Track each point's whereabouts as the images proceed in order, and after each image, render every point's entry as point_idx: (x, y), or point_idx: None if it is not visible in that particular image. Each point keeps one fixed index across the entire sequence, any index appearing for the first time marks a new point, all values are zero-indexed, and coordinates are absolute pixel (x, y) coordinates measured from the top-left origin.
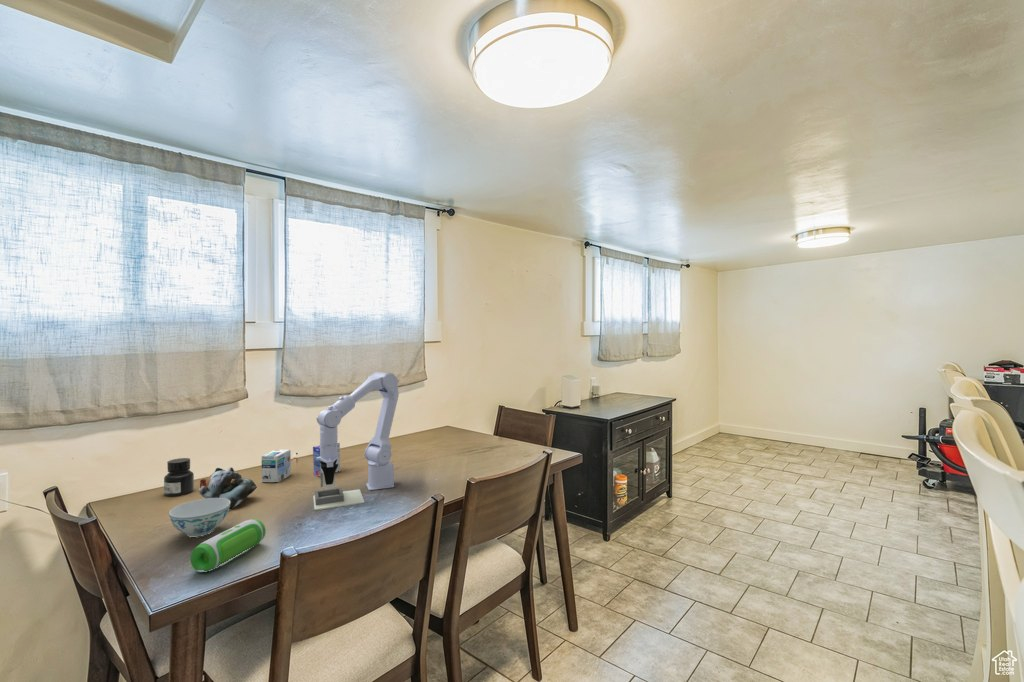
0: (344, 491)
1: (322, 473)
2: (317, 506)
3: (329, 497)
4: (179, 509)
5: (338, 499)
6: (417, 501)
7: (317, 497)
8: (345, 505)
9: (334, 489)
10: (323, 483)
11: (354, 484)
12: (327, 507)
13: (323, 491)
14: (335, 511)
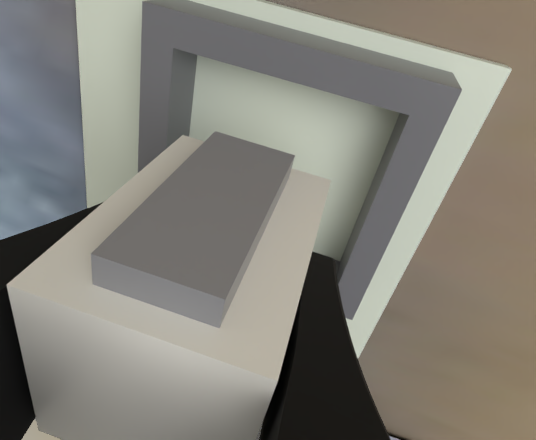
0: (379, 314)
1: (101, 271)
2: (134, 3)
3: (141, 144)
4: None
5: None
6: (35, 418)
7: (201, 42)
8: (89, 199)
9: (348, 263)
10: (142, 174)
11: (514, 422)
12: (80, 76)
13: (385, 169)
14: (15, 105)
